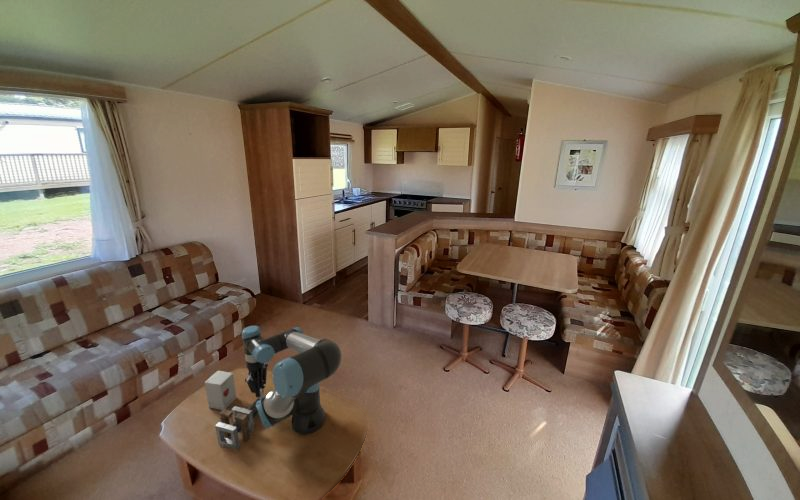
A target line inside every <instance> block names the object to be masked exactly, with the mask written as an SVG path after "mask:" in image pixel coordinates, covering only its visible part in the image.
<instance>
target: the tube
mask: <svg viewBox="0 0 800 500" xmlns="http://www.w3.org/2000/svg"><path fill="white" fill-rule="evenodd" d="M259 400H260V399H257V398H256V399H255V400H254V402H253V403H251V405H250V406H249V407H248V408H247V409H248V410H252V414H253V415H254V414H255V413H256V412H257V407H256V402H257V401H259ZM231 425H232V426H235V427H237V431H238V433H239V432H240V431H242V430H241V424H240V421H236V422H235V423H234V422H233V423H232V424H231Z"/></svg>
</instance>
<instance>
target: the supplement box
mask: <svg viewBox="0 0 800 500" xmlns="http://www.w3.org/2000/svg"><path fill="white" fill-rule="evenodd" d="M204 387H205V395H206V398H207V405H208V408H210V409H216V410H220V411H222V410H223V409H226V410H227V409H228V407H230V406H231V404H233V402H234V401H235V400H236V399H237V390H236V384H235V378H234V372H228V371H222V370H216V372H214V373H213V374H212V375H211V376H209V378H208V379H207V380H205V381H204Z"/></svg>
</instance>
